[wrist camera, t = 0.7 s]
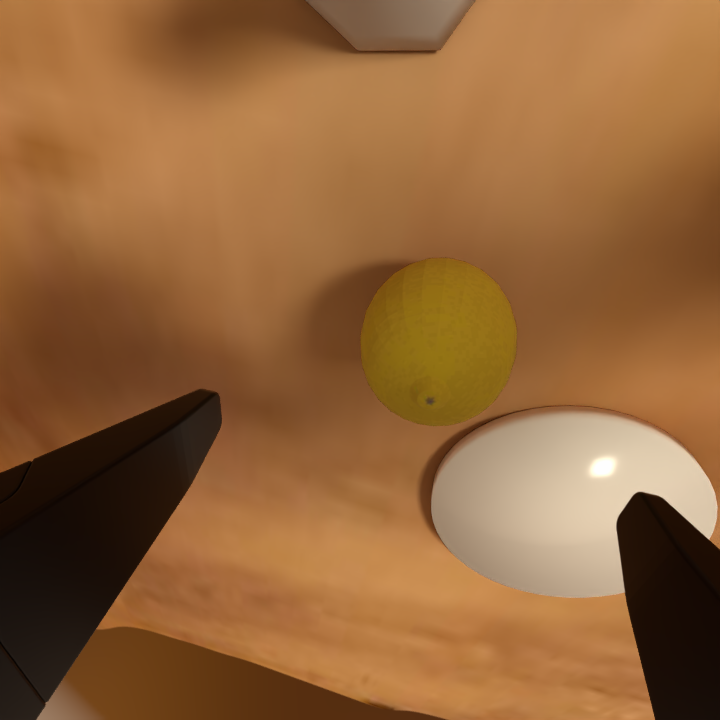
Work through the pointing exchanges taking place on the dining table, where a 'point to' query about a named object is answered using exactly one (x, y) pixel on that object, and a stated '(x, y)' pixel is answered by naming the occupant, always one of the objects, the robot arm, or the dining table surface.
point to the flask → (393, 22)
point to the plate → (559, 496)
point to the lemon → (438, 342)
